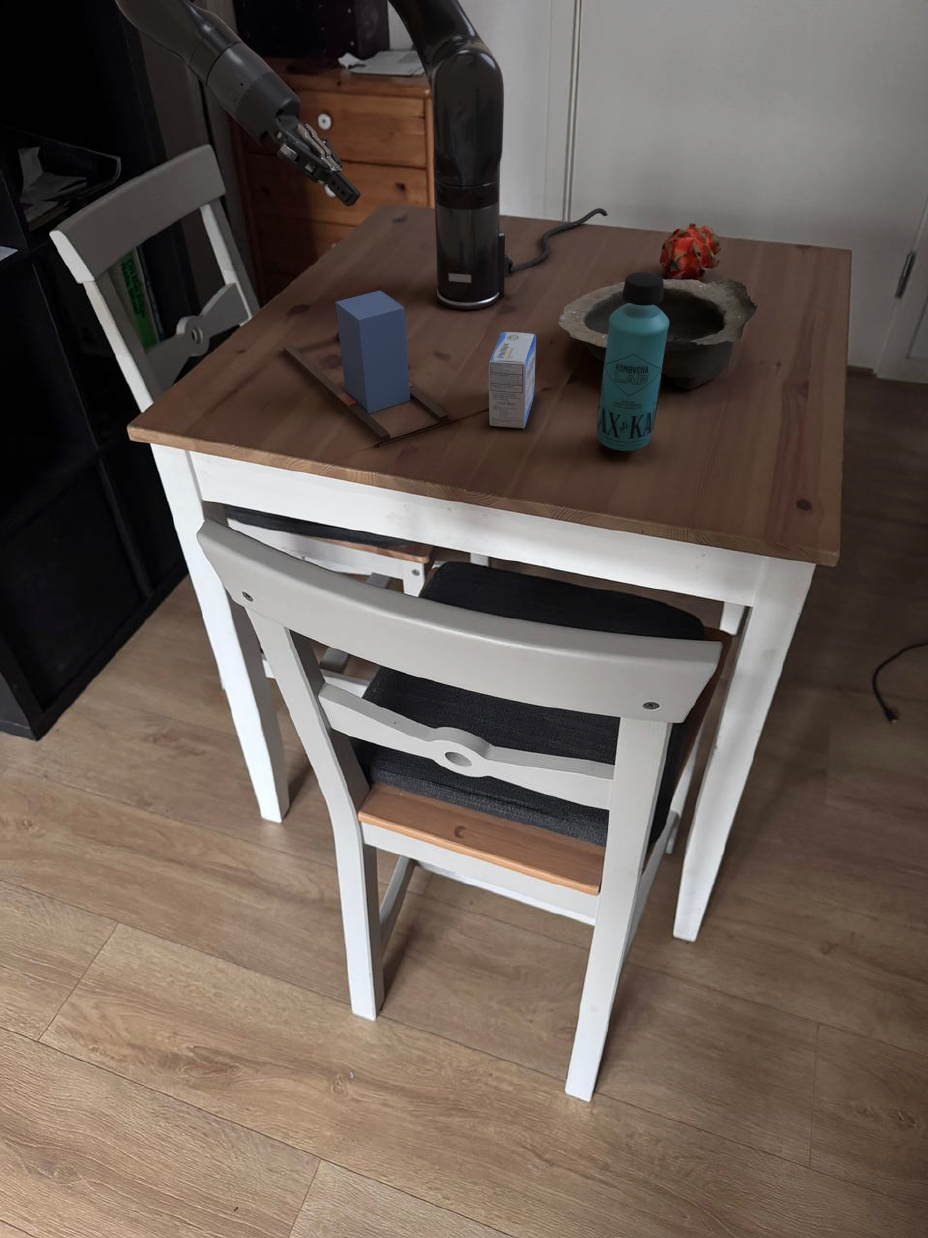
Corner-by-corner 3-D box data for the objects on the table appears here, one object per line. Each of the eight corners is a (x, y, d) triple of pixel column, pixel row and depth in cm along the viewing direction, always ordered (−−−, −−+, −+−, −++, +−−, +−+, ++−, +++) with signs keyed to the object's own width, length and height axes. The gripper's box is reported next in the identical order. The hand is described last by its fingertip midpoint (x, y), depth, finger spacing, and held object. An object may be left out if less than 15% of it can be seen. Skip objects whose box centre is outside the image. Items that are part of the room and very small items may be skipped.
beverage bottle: (589, 435, 106) (604, 265, 93) (644, 432, 106) (668, 262, 93) (600, 465, 101) (618, 291, 88) (657, 461, 102) (684, 288, 88)
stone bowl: (775, 398, 111) (786, 328, 105) (575, 422, 111) (574, 353, 105) (719, 312, 129) (727, 247, 123) (547, 332, 129) (545, 269, 123)
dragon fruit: (709, 276, 145) (669, 311, 139) (674, 236, 144) (632, 269, 139) (743, 242, 137) (702, 277, 132) (706, 199, 137) (663, 233, 131)
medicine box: (524, 430, 107) (527, 362, 101) (488, 426, 108) (488, 359, 102) (534, 398, 113) (537, 332, 107) (499, 395, 114) (500, 329, 108)
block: (387, 381, 115) (380, 289, 107) (410, 400, 112) (404, 307, 104) (345, 394, 113) (335, 301, 105) (367, 414, 109) (358, 319, 101)
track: (347, 338, 126) (346, 328, 125) (451, 422, 109) (451, 412, 108) (282, 356, 123) (280, 346, 122) (379, 447, 105) (378, 436, 104)
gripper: (246, 66, 105) (354, 179, 108) (292, 72, 116) (389, 175, 119) (213, 119, 108) (318, 228, 111) (260, 120, 120) (355, 219, 123)
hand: (354, 200), depth 115 cm, fingers closed
